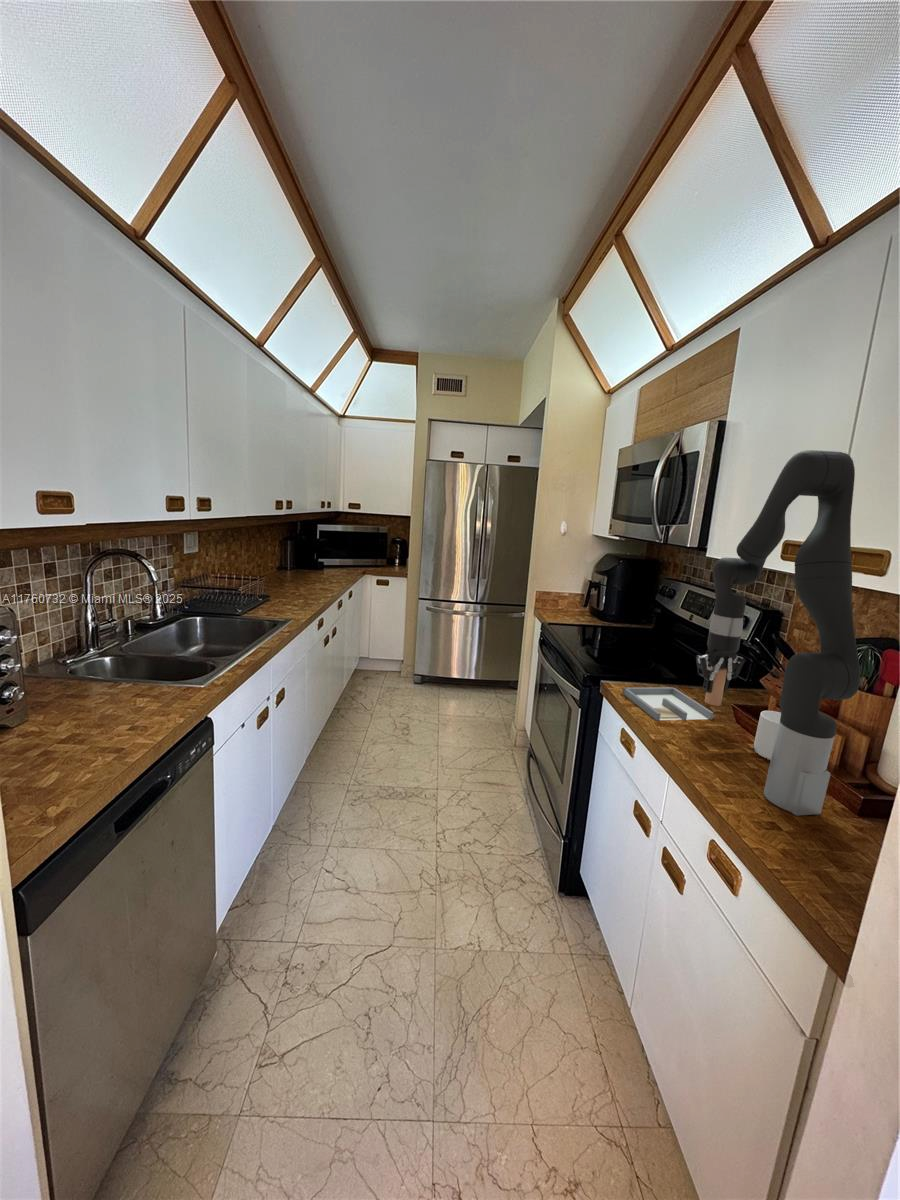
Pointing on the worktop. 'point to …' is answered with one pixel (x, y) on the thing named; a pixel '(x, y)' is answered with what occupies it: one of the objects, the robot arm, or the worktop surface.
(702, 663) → the robot arm
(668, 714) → the pad
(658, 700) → the grey shallow tray
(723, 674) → the peg
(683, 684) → the worktop surface
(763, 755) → the cup
